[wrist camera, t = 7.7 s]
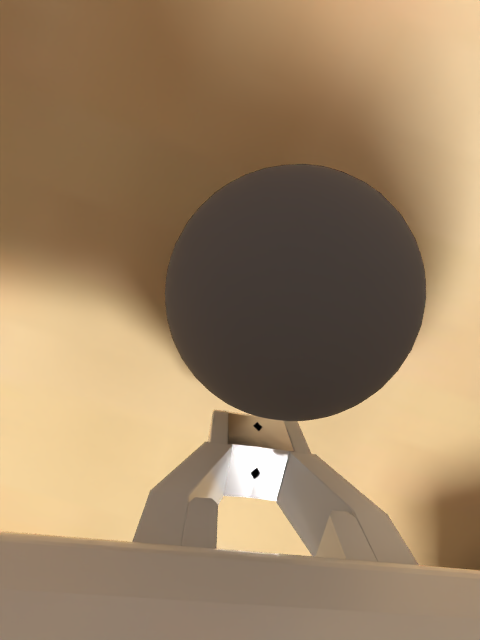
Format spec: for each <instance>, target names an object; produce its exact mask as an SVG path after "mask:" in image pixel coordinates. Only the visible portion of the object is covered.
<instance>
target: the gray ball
mask: <svg viewBox="0 0 480 640" xmlns="http://www.w3.org/2000/svg"><path fill="white" fill-rule="evenodd" d="M425 300H426V281H425V271H424V266H423V262H422V258H421V254H420V251H419V248H418V245H417V242H416V240H415V238H414V236H413V234H412V232H411V230H410V229H409V227H408V225H407V224H406V222H405V220H404V219H403V217H402V216H401V214H400V213H399V212H398V211H397V210H396V209H395V208H394V207H393V206H392V205H391V204H390V203H389V202H388V201H387V199H386V198H385V197H384V196H383V195H382V194H381V193H379V192H378V191H376V190H375V189H374V188H372V187H371V186H369V185H368V184H367V183H365V182H363V181H361V180H359V179H357V178H355V177H353V176H350V175H348V174H346V173H344V172H342V171H338V170H335V169H331V168H327V167H324V166H315V165H307V164H296V165H281V166H275V167H270V168H265V169H262V170H259V171H255V172H252V173H249V174H246V175H244V176H242V177H240V178H238V179H236V180H234V181H232V182H230V183H229V184H227V185H226V186H224V187H223V188H221V189H220V190H219V191H217V192H216V193H214V194H213V195H212V196H211V197H210V198H209V199H208V200H207V201H206V202H205V203H204V204H203V205H202V206H201V207H200V208H199V209H198V210H197V211H196V212H195V214H194V215H193V216H192V217H191V219H190V220H189V221H188V222H187V224H186V226H185V228H184V230H183V232H182V233H181V235H180V237H179V239H178V241H177V242H176V244H175V247H174V250H173V253H172V256H171V259H170V262H169V266H168V270H167V277H166V286H165V305H166V314H167V320H168V324H169V328H170V331H171V335H172V338H173V341H174V343H175V345H176V347H177V349H178V351H179V353H180V355H181V357H182V359H183V361H184V362H185V364H186V365H187V366H188V368H189V369H190V371H191V372H192V373H193V375H194V376H195V377H196V378H197V379H198V380H199V381H200V382H201V383H202V384H203V385H204V386H205V387H206V388H207V389H208V390H209V391H210V392H211V393H213V394H214V395H215V396H217V397H218V398H220V399H221V400H223V401H224V402H226V403H227V404H229V405H231V406H233V407H235V408H237V409H239V410H242V411H244V412H246V413H249V414H251V415H254V416H258V417H262V418H267V419H273V420H280V421H305V420H313V419H319V418H324V417H328V416H332V415H335V414H338V413H340V412H342V411H345V410H347V409H349V408H352V407H354V406H356V405H358V404H359V403H361V402H363V401H364V400H366V399H367V398H369V397H370V396H371V395H373V394H374V393H376V392H377V391H378V390H379V389H381V388H382V387H383V386H384V385H385V384H386V383H387V382H388V381H389V380H390V379H391V378H392V376H393V375H394V374H395V373H396V372H397V371H398V370H399V368H400V367H401V365H402V364H403V362H404V361H405V359H406V357H407V356H408V354H409V353H410V351H411V350H412V347H413V345H414V342H415V340H416V337H417V335H418V332H419V330H420V327H421V324H422V319H423V313H424V308H425Z"/></svg>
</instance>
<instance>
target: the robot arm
mask: <svg viewBox="0 0 480 640" xmlns="http://www.w3.org/2000/svg"><path fill="white" fill-rule="evenodd" d="M223 496H235V497H250V498H257V499H265V500H272V501H277V504H278V505H279V507H280V508H281V510H282V511H283V513H284V514H285V516H286V517H287V519H288V520H289V522H290V523H291V525H292V526H293V528H294V529H295V531H296V532H297V534H298V535H299V537H300V538H301V540H302V541H303V543H304V544H305V546H306V547H307V549H308V550H309V552H310V553H311V554H312V556H313V557H312V556H300V555H288V554H275V553H263V552H250V551H238V550H226V549H216V543H217V515H218V504H219V503H220V501H221V500H222V498H223ZM0 640H480V570H472V569H460V568H447V567H435V566H423V565H418V563H417V561H416V560H415V558H414V556H413V555H412V553H411V552H410V550H409V548H408V547H407V545H406V544H405V542H404V540H403V539H402V537H401V536H400V534H399V532H398V531H397V529H396V527H395V526H394V524H393V523H392V521H391V519H390V518H389V516H388V515H387V514H386V513H385V512H384V511H383V510H381V509H380V508H379V507H378V506H377V505H375V504H374V503H373V502H372V501H371V500H369V499H368V498H367V497H366V496H365V495H363V494H362V493H361V492H360V491H359V490H357V489H356V488H355V487H354V486H353V485H352V484H350V483H349V482H348V481H347V480H346V479H344V478H343V477H342V476H341V475H340V474H338V473H337V472H336V471H335V470H334V469H332V468H331V467H330V466H329V465H328V464H326V463H325V462H324V461H323V460H322V459H320V458H319V457H318V456H317V455H315V454H311V452H310V449H309V447H308V445H307V443H306V440H305V438H304V436H303V433H302V431H301V429H300V426H299V424H298V422H297V421H280V420H273V419H267V418H262V417H258V416H254V415H248V414H242V413H235V412H229V411H228V412H227V411H221V410H213V414H212V420H211V425H210V431H209V437H208V442H204V443H203V444H202V445H201V446H200V447H199V448H198V449H197V450H195V451H194V452H193V453H192V454H191V455H190V456H189V457H188V458H186V459H185V460H184V461H183V462H182V463H181V464H180V465H179V466H177V467H176V468H175V469H174V470H173V471H172V472H171V473H170V474H168V475H167V476H166V477H165V478H164V479H163V480H162V481H161V482H159V483H158V484H157V485H156V486H155V487H154V488H153V489H152V490H150V493H149V496H148V499H147V501H146V504H145V507H144V510H143V513H142V516H141V519H140V521H139V524H138V527H137V530H136V533H135V536H134V539H133V541H132V542H127V541H114V540H102V539H90V538H77V537H65V536H52V535H40V534H28V533H15V532H3V531H0Z"/></svg>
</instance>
